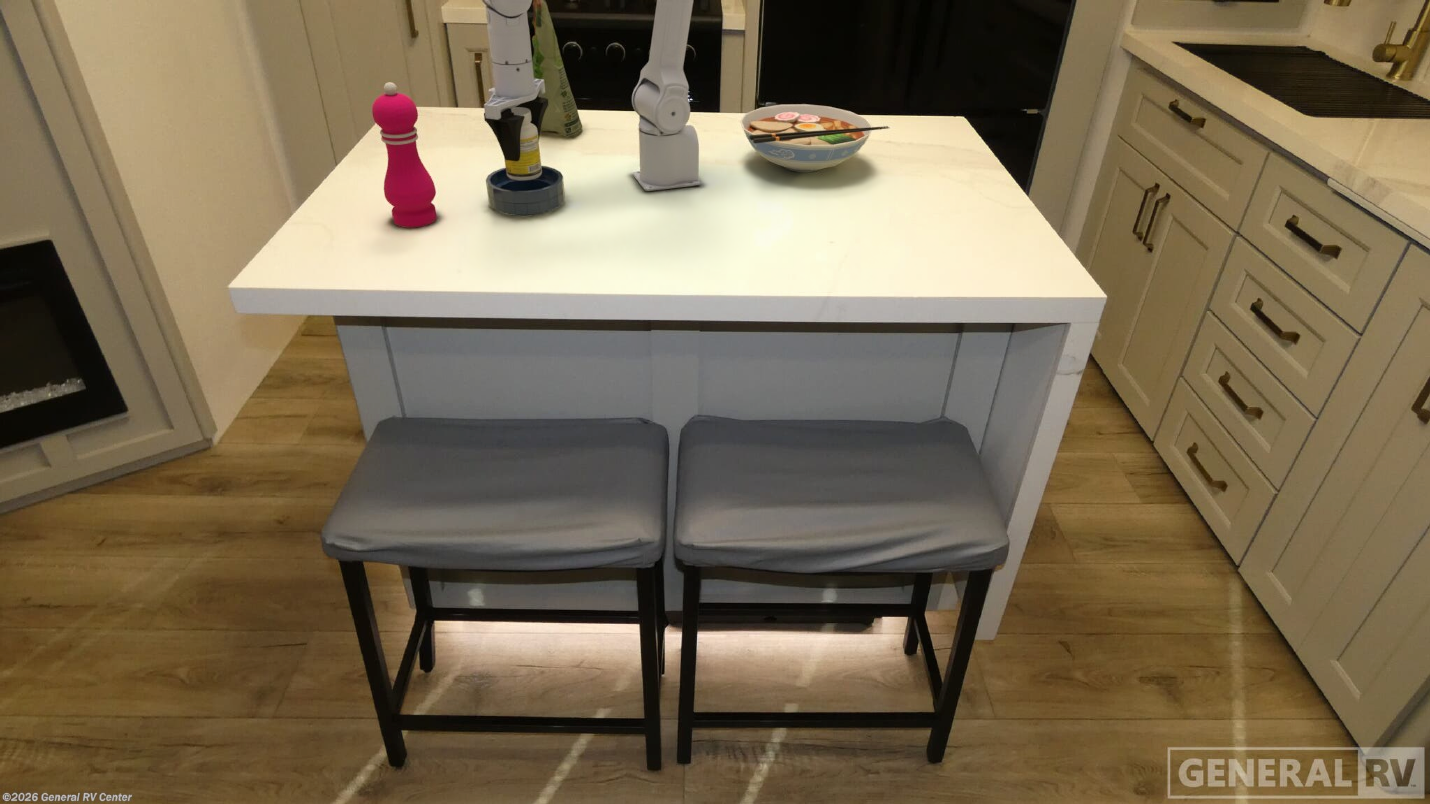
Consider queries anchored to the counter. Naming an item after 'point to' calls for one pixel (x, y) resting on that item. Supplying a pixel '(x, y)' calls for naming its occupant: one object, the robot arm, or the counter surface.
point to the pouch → (552, 76)
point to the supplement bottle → (526, 150)
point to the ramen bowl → (806, 135)
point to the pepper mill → (404, 160)
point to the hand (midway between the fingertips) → (522, 153)
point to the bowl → (525, 192)
